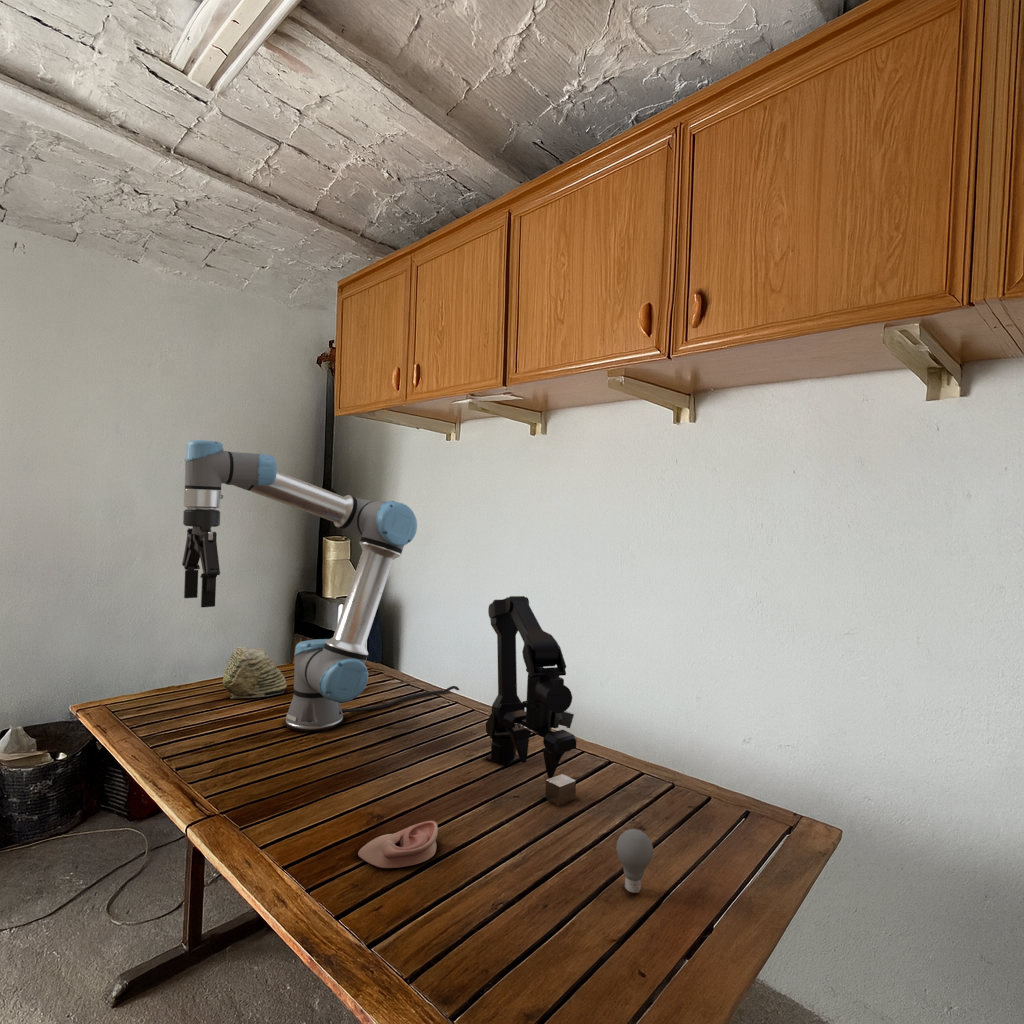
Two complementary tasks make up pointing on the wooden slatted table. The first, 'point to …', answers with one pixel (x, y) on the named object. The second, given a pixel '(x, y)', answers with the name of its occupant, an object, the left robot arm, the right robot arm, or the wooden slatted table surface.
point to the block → (560, 789)
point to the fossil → (252, 674)
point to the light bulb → (634, 857)
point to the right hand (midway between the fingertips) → (536, 769)
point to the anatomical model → (402, 846)
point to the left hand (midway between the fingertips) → (199, 602)
